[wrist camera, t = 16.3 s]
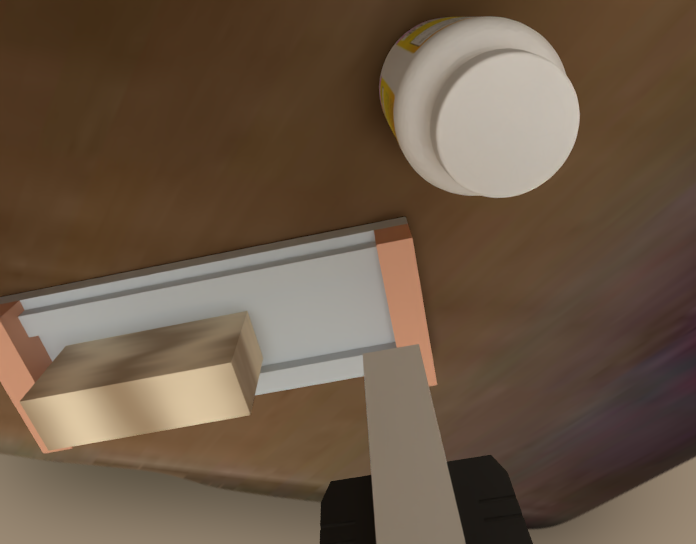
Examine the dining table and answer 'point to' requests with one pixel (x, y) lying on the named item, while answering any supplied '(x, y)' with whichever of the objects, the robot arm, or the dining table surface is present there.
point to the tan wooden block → (147, 382)
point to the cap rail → (241, 307)
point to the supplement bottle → (479, 105)
